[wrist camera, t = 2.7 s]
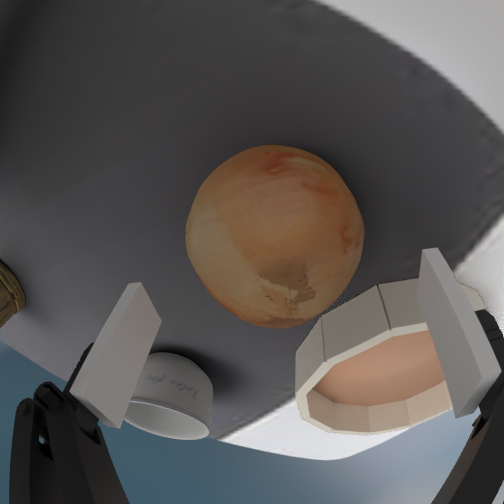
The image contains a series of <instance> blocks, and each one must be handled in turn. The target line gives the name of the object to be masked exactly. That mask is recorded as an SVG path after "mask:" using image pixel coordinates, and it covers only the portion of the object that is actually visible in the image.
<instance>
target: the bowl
mask: <svg viewBox="0 0 504 504" xmlns="http://www.w3.org/2000/svg"><path fill="white" fill-rule="evenodd" d="M418 280H419V278H416V279H409V280H403V281H397V282H390V283H383V284H378V286H377V285H375V286H374V287H372V288H370V289H369V290H367V291H365V292H363V293H362V294H360V295H358V296H357V297H355V298H353V299H351V300H349V301H348V302H346V303H344V304H342V305H341V306H339V307H337V308H335V309H333V310H331V311H330V312H328V313H326V314H324V315H322V317H320V318H319V320H318V321H317V323H316V324H315V326H314V327H313V329H312V330H311V331H310V333H309V334H308V336H307V337H306V339H305V340H304V341H303V343H302V344H301V346H300V347H299V348H298V350H297V351H296V370H295V396H296V400H297V404H298V408H299V413H300V417H301V419H302V420H304V421H306V422H308V423H310V424H312V425H314V426H316V427H318V428H320V429H322V430H324V431H326V432H330V433H338V434H351V435H374V434H380V433H386V432H391V431H396V430H401V429H406V428H410V427H413V426H416V425H418V424H420V423H423V422H425V421H428V420H430V419H432V418H434V417H437V416H439V415H441V414H443V413H445V412H447V411H449V410H451V409H453V406H452V402H451V398H450V395H449V391H448V387H447V384H446V381H445V377H444V374H443V371H442V368H441V364H440V361H439V358H438V355H437V352H436V349H435V346H434V343H433V341H432V338H431V335H430V332H429V329H428V327H427V324H426V321H425V319H424V316H423V313H422V311H421V308H420V306H419V303H418V301H417V298H416V294H417V287H418ZM459 284H460V286H461V288H462V290H463V291H464V293H465V295H466V297H467V299H468V301H469V302H470V304H471V306H472V308H473V310H474V311H477V310H481V309H486V310H487V311H488V309H487V307H486V306H485V304H484V302H483V300H482V299H481V297H480V295H479V293H478V292H477V290H475V289H473V288H470V287H468V286H465V285H463V284H461V283H459ZM488 312H489V311H488Z"/></svg>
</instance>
